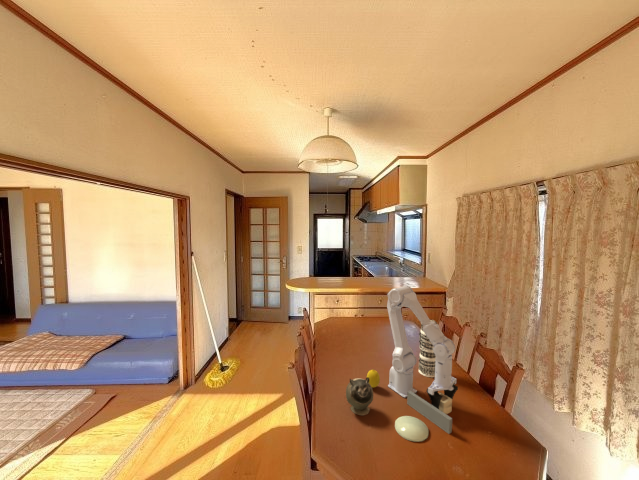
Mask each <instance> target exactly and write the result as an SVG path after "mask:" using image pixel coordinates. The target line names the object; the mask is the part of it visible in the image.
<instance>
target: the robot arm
mask: <svg viewBox="0 0 639 480" xmlns="http://www.w3.org/2000/svg"><path fill="white" fill-rule="evenodd" d="M386 295H387V304H386V308H387V312H388V319H389V323H390V329H391V333H392V334H391V335H392V338H393V343H394V350H393V352H392V362H391V364H392V366H391V367H390V369H389V378H388V379H389V381H388V384H387V387H388V388H389V389H391V390H392V391H394V392H395V393H397V394H398V395H400V396H401V397H402V398H407V393H408V391H411V392H413V393H415V394H417V392H418V390H417V389H416V388H414V387H413V383H414V366H416V364H417V362H418V361H417V356H416V355H415V354H414V351H413V348H412V347H410V346H409V343H408V339H407V338H408V337H407V332H406V328H405V323H404V318H403V315H402V308H403V307H405V308H409V309H410V311H411V312H412V313H413V314H414V315H415V317H416V318H417V320H418V321H419V323H420V324H421V323H422V325H423V328H422V330H423V331H424V333H425V334H426V336H427V337H428V339H429V340H430V342H431V343H432V342H433V343H432V345H433V346H434V348H433V352H434V354H435V356H436V359H435V377H434V380H433V381H432V383H431V385H430V386H428V387H427V388H426V393H427V395H428V397H429V399H430V404H431V405H433V406H434V407H436V408H437V409H439V405H440V401H441V398H442V397H443V396H441V395H440V394H439V392H441V391H443V394H444V395H446V396H448V397H450V398H451V399H452V400H453V399H454V396H455V394H456V392H457V391H458V389H459V386H457V385H456V384H457V378H455V377H454V376H452V373H453V371H452V370H453V369H452V368H453V354H454V353H455V351H456V346H455V344H454V342H453V340H452V339H450V338H448V337H447V336H445V334H444V333H443V332H442V330H441V329H440V324H439V323H437V324H436V323H435V322H433V321H430V320H431V319H430V318H429V316H428V315H427V313H426V311H425V309H424V308H423V306H422V305H421V303H420V302H419V300H418V297H417V294H416V292H415V291H414V290H413V288H412V287H411V286H410V285H406V284H405V285H402V286H399V287H396V288H395V287H394V288H392V289H391V290H389V292H388V293H387V294H386ZM438 324H439V325H438Z"/></svg>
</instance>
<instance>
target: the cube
mask: <svg viewBox="0 0 639 480" xmlns="http://www.w3.org/2000/svg"><path fill="white" fill-rule="evenodd" d="M438 393H439V394H440V395H441V396H443V397H442V398H441V401H440V405H439V410H440V411H442V412H443V413H445V414H446V415H448V414H450V413H451V412H452V407H453V399H451V398H450V397H448V396H446V395H444V392H441V391H438Z"/></svg>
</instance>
